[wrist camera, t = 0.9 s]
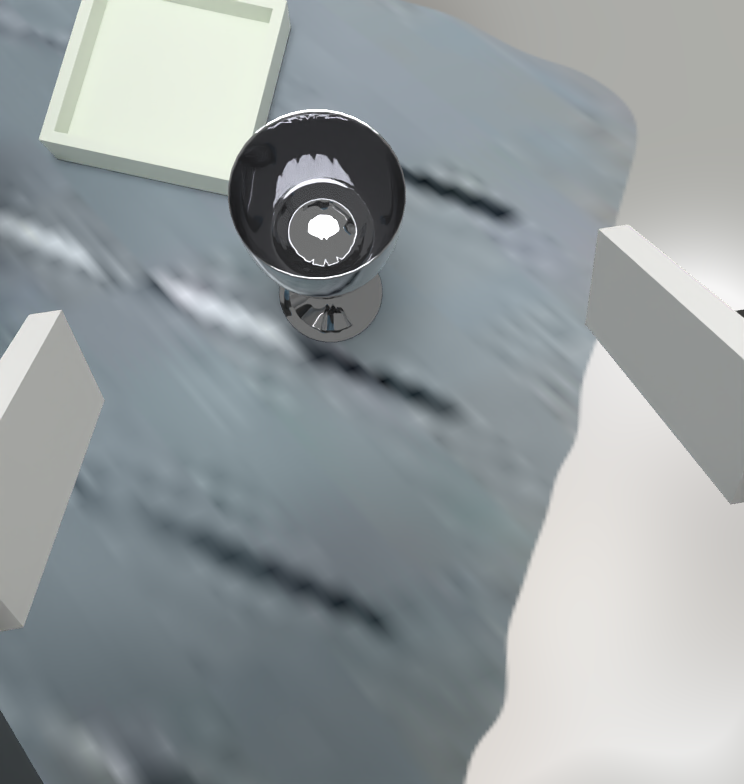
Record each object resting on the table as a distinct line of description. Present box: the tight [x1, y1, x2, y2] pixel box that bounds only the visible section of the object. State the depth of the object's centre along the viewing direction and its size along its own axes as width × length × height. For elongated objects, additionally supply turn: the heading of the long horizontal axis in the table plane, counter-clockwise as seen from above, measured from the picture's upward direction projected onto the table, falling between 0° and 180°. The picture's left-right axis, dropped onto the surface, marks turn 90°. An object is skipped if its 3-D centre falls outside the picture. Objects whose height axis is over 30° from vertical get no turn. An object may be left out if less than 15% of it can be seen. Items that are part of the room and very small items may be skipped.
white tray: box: [39, 0, 291, 196], centre depth 42 cm, size 14×14×2 cm
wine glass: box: [228, 110, 406, 342], centre depth 34 cm, size 8×8×15 cm
